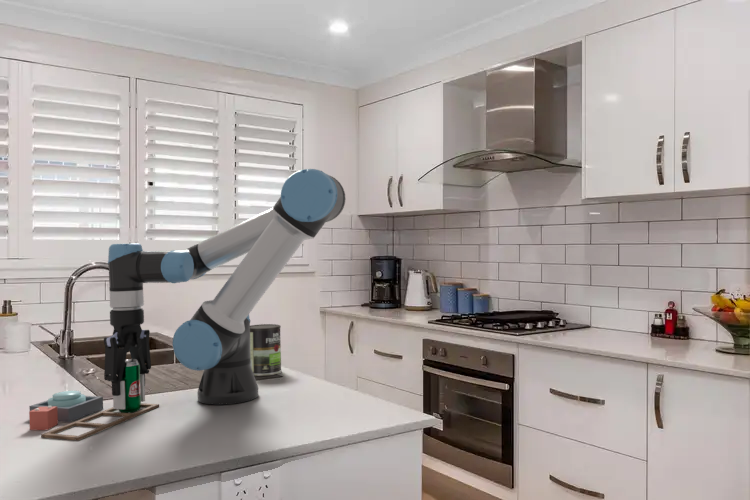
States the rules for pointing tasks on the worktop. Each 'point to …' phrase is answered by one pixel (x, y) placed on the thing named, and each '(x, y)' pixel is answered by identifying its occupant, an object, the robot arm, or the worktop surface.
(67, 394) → the dome button
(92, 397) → the grey tray
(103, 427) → the track
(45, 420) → the red cube
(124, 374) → the soda can
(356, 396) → the worktop surface
